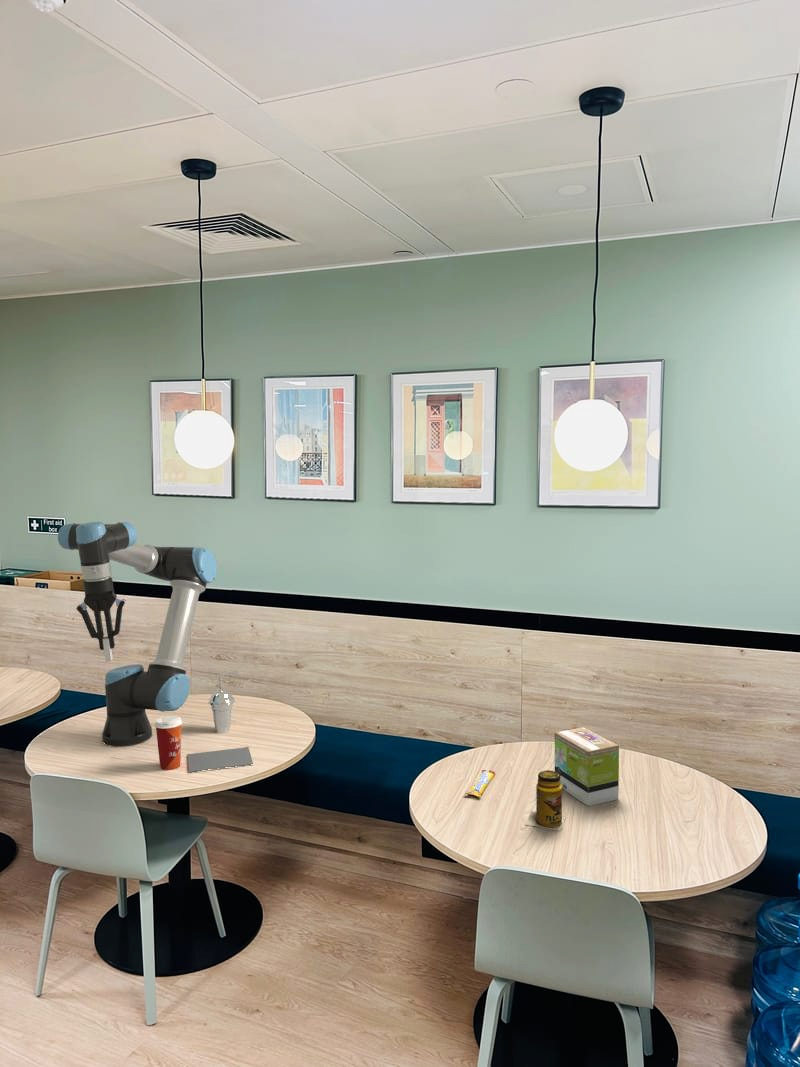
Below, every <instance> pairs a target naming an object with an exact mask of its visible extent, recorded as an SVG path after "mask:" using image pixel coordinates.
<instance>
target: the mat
mask: <svg viewBox="0 0 800 1067" xmlns="http://www.w3.org/2000/svg"><path fill="white" fill-rule="evenodd" d="M187 764H188V765H187V766H188V774H193V773H192V772H195V773H198V772H197V771H202V770H208V769H217V768H225V767H234V768H236V767H235V766H242V767H246V766H245V765H250V766H252V765H251V764H253V765H254V762H253V758H252V755H251V752H250V748H249V746H246V747H236V748H229V749H220V750H212V751H203V752H195V753H188V754H187Z"/></svg>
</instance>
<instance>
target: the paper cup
mask: <svg viewBox="0 0 800 1067" xmlns="http://www.w3.org/2000/svg"><path fill="white" fill-rule="evenodd" d="M182 724H183V721H182V719H181V717H180V716H177V715H165V716H161V717H158V718H157V719H156V721H155V724H154V727H155V732H156V741H157V749H158V751H157V752H158V758H159V759H158V760H159V767H160V769H161V770H162V771H172V770H176V769H178V768H180V767H181V760H182V759H181V758H182V757H181V754H182V752H181V751H182Z"/></svg>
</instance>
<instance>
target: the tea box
mask: <svg viewBox="0 0 800 1067" xmlns="http://www.w3.org/2000/svg"><path fill="white" fill-rule="evenodd" d="M619 763H620V744H617V743H615V742H613V741H611V740H609V739H608V738H605V737H604V736H602V735H600V734H598V733H595V732H594V731H593V730H590V729H588V728H587V727H584V726H582V727H577V728H573V729H568V730H567V729H566V730H561V731H557V732H556V731H555V732H554V771H555V772H557V773H558V774H559V775H560V782H561V783H560V785H561V786H562V790H564V791H565V792H566V793H569V795H571V796H573V797H574V798H575V799H577V800H578V801H580V802H582V804H585V805H586V806H587V807H590V806H591V807H592V806H595V805H599V804H603V803H607V802H612V801H615V800H619V790H620V788H619V781H620V780H619V779H620V778H619V777H620V776H619V774H620V770H619V769H620V764H619Z"/></svg>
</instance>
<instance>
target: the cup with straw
mask: <svg viewBox="0 0 800 1067" xmlns="http://www.w3.org/2000/svg"><path fill="white" fill-rule="evenodd" d="M236 673H238V672H237V670H232V671H227V672H224V673H220V674H219V677H218V678H219V680H218V681H219V689H217V690H215V691H214V692H213V693H212V694H211V696H210V698H209V699H208V705H209V706H210V707H211V712H212V715H213V717H212V718H213V724H214V729H215V732H216V733H217V732H218V733H217V734H224V733H225V732H226V733H228V732H230V731H231V730H230V727H231V719H232V710H233V704H234V703H235V702H236V701H235V697H233V695H232V693H231V692H230V691H229V690H227V689H226V688H222V687H223V685H222V683H223V681H222V678H223V676H226V675H232V674H236ZM229 730H230V731H229ZM226 733H225V734H226Z"/></svg>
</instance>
